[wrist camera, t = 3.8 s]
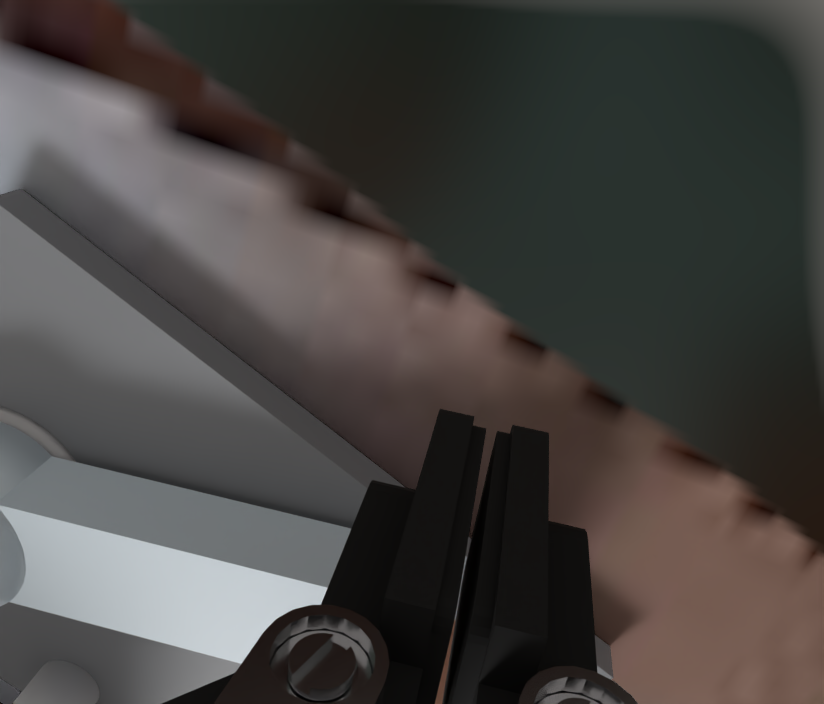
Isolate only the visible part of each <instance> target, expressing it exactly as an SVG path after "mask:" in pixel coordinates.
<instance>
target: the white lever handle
mask: <svg viewBox="0 0 824 704" xmlns="http://www.w3.org/2000/svg"><path fill="white" fill-rule="evenodd" d="M350 531H351V528H347V527H343V526H338V525H334V524H330V523H326V522H322V521H318V520H314V519H310V518H305V517H301V516H297V515H293V514H289V513H285V512H281V511H276V510H272V509H268V508H264V507H260V506H256V505H252V504H247V503H243V502H239V501H235V500H231V499H227V498H223V497H218V496H214V495H210V494H206V493H202V492H198V491H194V490H190V489H185V488H181V487H177V486H173V485H169V484H165V483H161V482H156V481H152V480H148V479H144V478H140V477H136V476H132V475H127V474H123V473H119V472H115V471H111V470H107V469H103V468H99V467H94V466H90V465H86V464H82V463H78V462H74V461H70V460H65V459H61V458H57V457H53V456H51V455H50V454H49V453H48V452H47V451H46V450H45V449H44V448H43V447H42V446H41V445H40V444H39V443H37V442H36V441H35V440H34V439H32V438H31V437H29V436H28V435H26V434H25V433H23V432H22V431H20V430H18V429H16V428H14V427H12V426H10V425H7V424H5V423H3V422H0V606H2V605H4V604H6V603H8V602H11V603H15V604H18V605H22V606H26V607H30V608H33V609H37V610H41V611H45V612H48V613H52V614H56V615H60V616H63V617H67V618H71V619H75V620H78V621H82V622H86V623H90V624H93V625H97V626H101V627H105V628H109V629H112V630H116V631H120V632H124V633H127V634H131V635H135V636H139V637H142V638H146V639H150V640H154V641H157V642H161V643H165V644H169V645H172V646H176V647H180V648H184V649H187V650H191V651H195V652H199V653H202V654H206V655H210V656H214V657H217V658H221V659H225V660H229V661H232V662H236V663H240V664H242V662H243V661H244V659H245V658H246V656H247V655H248V654H249V652H250V651H251V649H252V648H253V646H254V645H255V644H256V642H257V641H258V639H259V638H260V636H261V635H262V633H263V632H264V631H265V630H266V629H267V628H268V627H269V626H270V625H271V624H272V623H273V622H274V621H275V620H276V619H277V618H279V617H280V616H282V615H284V614H286V613H288V612H289V611H291V610H293V609H297V608H301V607H305V606H309V605H321V603H322V601H323V598H324V596H325V593H326V591H327V588H328V586H329V583H330V581H331V578H332V576H333V573H334V571H335V568H336V566H337V563H338V561H339V558H340V556H341V553H342V551H343V548H344V546H345V543H346V541H347V538H348V536H349V533H350ZM466 560H467V556H465V562H464V568H463V574H464V569H465V565H466ZM463 574H462V579H463ZM461 584H462V580H461ZM460 590H461V586H460ZM459 596H460V592H459ZM458 603H459V598H458ZM457 609H458V604H457ZM457 609H456V614H455V619H454V624H453V629H452V633H451V637H450V642H449V646H448V650H447V654H446V659H445V663H444V667H443V671H442V675H441V680H440V684H439V688H438V692H437V697H436V701H435V704H442V701H443V695H444V689H445V683H446V677H447V670H448V664H449V658H450V652H451V646H452V640H453V633H454V627H455V621H456V615H457Z"/></svg>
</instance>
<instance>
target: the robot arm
mask: <svg viewBox="0 0 824 704" xmlns="http://www.w3.org/2000/svg"><path fill="white" fill-rule="evenodd" d="M473 421H474V416H470V415H465V414H461V413H456V412H452V411H447V410H443V409H440V411H439V414H438V417H437V420H436V424H435V427H434V431H433V434H432V437H431V441H430V444H429V448H428V451H427V454H426V458H425V461H424V465H423V468H422V471H421V475H420V478H419V481H418V485H417V488H416V490H413V489H409V488H405V487H401V486H396V485H392V484H388V483H383V482H379V481H375V480H372V481H371V482H370V484H369V486H368V489H367V491H366V494H365V496H364V499H363V501H362V504H361V506H360V508H359V511H358V513H357V516H356V518H355V521H354V523H353V526H352V528H351V531H350V533H349V536H348V538H347V541H346V543H345V546H344V548H343V551H342V553H341V556H340V558H339V561H338V563H337V566H336V568H335V571H334V573H333V576H332V578H331V581H330V583H329V586H328V588H327V591H326V593H325V596H324V598H323V601H322V603H321V605H309V606H305V607H301V608H297V609H293V610H291V611H289V612H288V613H286V614H284V615H282V616H280V617H279V618H277V619H276V620H275V621H274V622H273V623H272V624H271V625H270V626H269V627H268V628H267V629H266V630H265V631H264V632H263V633H262V635H261V636H260V638H259V639H258V641H257V642H256V644H255V645H254V646H253V648H252V649H251V651H250V652H249V654H248V655H247V656H246V658H245V659H244V661H243V662H242V664H241V665H240V666H239V668H238V669H237V671H236V672H235V673H233V674H231V675H228V676H226V677H223V678H221V679H219V680H216V681H214V682H212V683H209V684H207V685H204V686H202V687H200V688H197V689H195V690H193V691H190V692H188V693H185V694H183V695H181V696H178V697H176V698H174V699H171V700H169V701H166V702H164V703H162V704H435V701H436V697H437V692H438V688H439V684H440V680H441V675H442V671H443V667H444V663H445V659H446V654H447V650H448V646H449V642H450V637H451V633H452V629H453V624H454V619H455V614H456V609H457V604H458V609H457V615H456V621H455V627H454V633H453V640H452V646H451V652H450V658H449V664H448V670H447V677H446V683H445V689H444V695H443V701H442V704H638V703H637V702H636V701H635V699H634V698H633V697H632V696H631V695H630V694H629V693H628V692H626V691H625V690H624V689H623V688H622V687H620V686H619V685H618V684H617V683H615V682H614V681H612V680H611V679H609V678H607V677H605V676H603V675H601V674H599V673H597V660H596V646H595V632H594V618H593V604H592V590H591V576H590V562H589V548H588V537H587V532H586V531H585V529H581V528H577V527H573V526H568V525H564V524H560V523H555V522H551V521H548V493H549V433H547V432H543V431H538V430H534V429H529V428H524V427H520V426H515V425H513V426H512V429H511V432H510V434H508V433H504V432H499V431H497V434H496V437H495V441H494V446H493V450H492V454H491V458H490V463H489V467H488V471H487V475H486V480H485V484H484V488H483V492H482V497H481V501H480V505H479V509H478V514H477V518H476V522H475V526H474V531H473V535H472V539H471V543H470V548H469V552H468V556H467V560H466V565H465V569H464V574H463V568H464V562H465V556H466V550H467V543H468V537H469V531H470V525H471V519H472V513H473V507H474V501H475V495H476V488H477V482H478V476H479V470H480V464H481V458H482V452H483V446H484V440H485V433H486V429H485V428H481V427H476V426H473ZM462 574H463V579H462ZM461 580H462V584H461ZM460 586H461V590H460ZM459 592H460V596H459ZM458 598H459V603H458Z"/></svg>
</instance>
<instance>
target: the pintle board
mask: <svg viewBox="0 0 824 704" xmlns="http://www.w3.org/2000/svg"><path fill="white" fill-rule="evenodd" d="M0 422H3V423H5V424H7V425H10V426H12V427H14V428H16V429H18V430H20V431H22V432H23V433H25V434H26V435H28V436H29V437H31V438H32V439H34V440H35V441H36V442H37V443H39V444H40V445H41V446H42V447H43V448H44V449H45V450H46V451H47V452H48V453H49V454H50V455H51V456H53V457H57V458H61V459H65V460H70V461H74V462H78V463H82V464H86V465H90V466H94V467H99V468H103V469H107V470H111V471H115V472H119V473H123V474H127V475H132V476H136V477H140V478H144V479H148V480H152V481H156V482H161V483H165V484H169V485H173V486H177V487H181V488H185V489H190V490H194V491H198V492H202V493H206V494H210V495H214V496H218V497H223V498H227V499H231V500H235V501H239V502H243V503H247V504H252V505H256V506H260V507H264V508H268V509H272V510H276V511H281V512H285V513H289V514H293V515H297V516H301V517H305V518H310V519H314V520H318V521H322V522H326V523H330V524H334V525H338V526H343V527H347V528H352V526H353V523H354V521H355V518H356V516H357V513H358V511H359V508H360V506H361V504H362V501H363V499H364V496H365V494H366V491H367V489H368V486H369V484H370V482H371V481H372V480H375V481H379V482H383V483H388V484H392V485H396V486H401V487H404V486H403V485H402V484H400V483H399V482H398V481H397V480H395V479H394V478H393V477H391V476H390V475H389V474H388V473H386V472H385V471H384V470H382V469H381V468H380V467H379V466H377V465H376V464H375V463H373V462H372V461H371V460H370V459H368V458H367V457H366V456H364V455H363V454H362V453H361V452H359V451H358V450H357V449H355V448H354V447H353V446H352V445H350V444H349V443H348V442H346V441H345V440H344V439H343V438H341V437H340V436H339V435H337V434H336V433H335V432H334V431H332V430H331V429H330V428H328V427H327V426H326V425H325V424H323V423H322V422H321V421H319V420H318V419H317V418H316V417H314V416H313V415H312V414H310V413H309V412H308V411H307V410H305V409H304V408H303V407H301V406H300V405H299V404H298V403H296V402H295V401H294V400H292V399H291V398H290V397H289V396H287V395H286V394H285V393H283V392H282V391H281V390H280V389H278V388H277V387H276V386H274V385H273V384H272V383H271V382H269V381H268V380H267V379H265V378H264V377H263V376H262V375H260V374H259V373H258V372H256V371H255V370H254V369H253V368H251V367H250V366H249V365H247V364H246V363H245V362H244V361H242V360H241V359H240V358H238V357H237V356H236V355H235V354H233V353H232V352H231V351H229V350H228V349H227V348H226V347H224V346H223V345H222V344H220V343H219V342H218V341H217V340H215V339H214V338H213V337H211V336H210V335H209V334H208V333H206V332H205V331H204V330H203V329H201V328H200V327H199V326H197V325H196V324H195V323H194V322H192V321H191V320H190V319H188V318H187V317H186V316H185V315H183V314H182V313H181V312H179V311H178V310H177V309H176V308H174V307H173V306H172V305H170V304H169V303H168V302H167V301H165V300H164V299H163V298H161V297H160V296H159V295H158V294H156V293H155V292H154V291H152V290H151V289H150V288H149V287H147V286H146V285H145V284H143V283H142V282H141V281H140V280H138V279H137V278H136V277H134V276H133V275H132V274H131V273H129V272H128V271H127V270H125V269H124V268H123V267H122V266H120V265H119V264H118V263H116V262H115V261H114V260H113V259H111V258H110V257H109V256H107V255H106V254H105V253H104V252H102V251H101V250H100V249H98V248H97V247H96V246H95V245H93V244H92V243H91V242H89V241H88V240H87V239H86V238H84V237H83V236H82V235H80V234H79V233H78V232H77V231H75V230H74V229H73V228H71V227H70V226H69V225H68V224H66V223H65V222H64V221H62V220H61V219H60V218H59V217H57V216H56V215H55V214H53V213H52V212H51V211H50V210H48V209H47V208H46V207H44V206H43V205H42V204H41V203H39V202H38V201H37V200H35V199H34V198H33V197H32V196H30V195H29V194H28V193H26V192H25V191H24V190H23V189H19V190H15V191H12V192H8V193H5V194H1V195H0ZM405 488H406V487H405ZM470 543H471V538H470V537H468V543H467V550H466V556H468V552H469V548H470ZM595 646H596V660H597V673H599V674H601V675H603V676H605V677H607V678H609V679H612V678H613V670H612V660H611V649H610V646H609V645H607V644H606V643H605V642H604V641H602V640H601V639H600V638H598V637H597V636H596V635H595ZM240 665H241V664H240V663H236V662H232V661H229V660H225V659H221V658H217V657H214V656H210V655H206V654H202V653H199V652H195V651H191V650H187V649H184V648H180V647H176V646H172V645H169V644H165V643H161V642H157V641H154V640H150V639H146V638H142V637H139V636H135V635H131V634H127V633H124V632H120V631H116V630H112V629H109V628H105V627H101V626H97V625H93V624H90V623H86V622H82V621H78V620H75V619H71V618H67V617H63V616H60V615H56V614H52V613H48V612H45V611H41V610H37V609H33V608H30V607H26V606H22V605H18V604H15V603H11V602H8V603H6V604H4V605H2V606H0V678H1V679H2V680H4V681H5V682H7V683H8V684H10V685H11V686H13V687H14V688H16V689H17V690H19V691H20V692H21V693H20V695H19V696H18V697H17V698H16V700H15V701H14V702H13V703H12V704H162V703H164V702H166V701H169V700H171V699H174V698H176V697H178V696H181V695H183V694H185V693H188V692H190V691H193V690H195V689H197V688H200V687H202V686H204V685H207V684H209V683H212V682H214V681H216V680H219V679H221V678H223V677H226V676H228V675H231V674H233V673H235V672H236V671H237V669H238V668H239V666H240Z"/></svg>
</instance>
